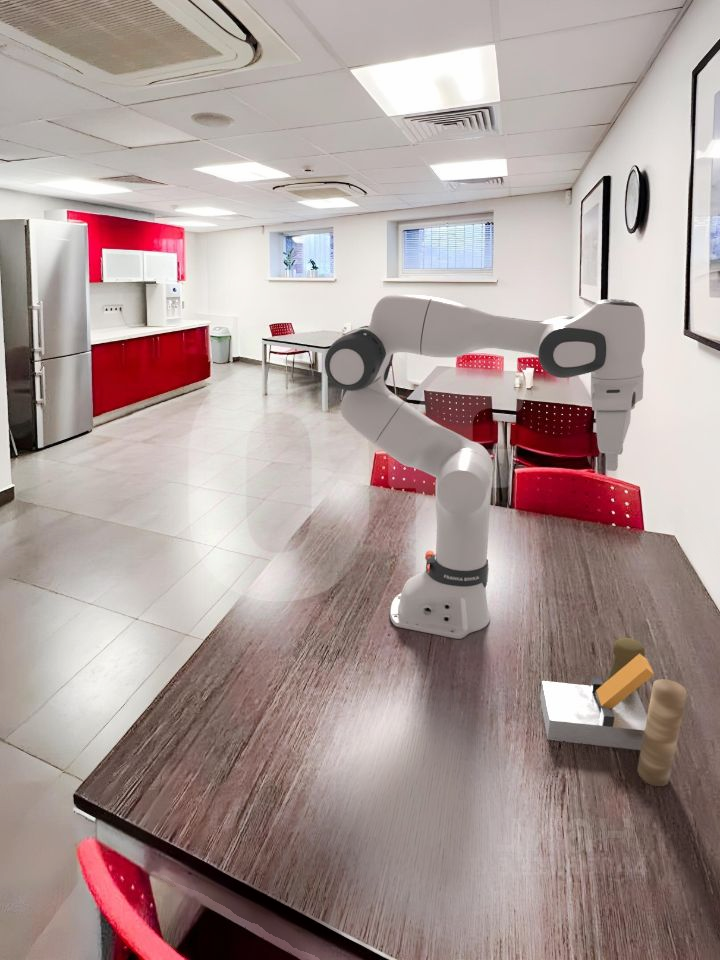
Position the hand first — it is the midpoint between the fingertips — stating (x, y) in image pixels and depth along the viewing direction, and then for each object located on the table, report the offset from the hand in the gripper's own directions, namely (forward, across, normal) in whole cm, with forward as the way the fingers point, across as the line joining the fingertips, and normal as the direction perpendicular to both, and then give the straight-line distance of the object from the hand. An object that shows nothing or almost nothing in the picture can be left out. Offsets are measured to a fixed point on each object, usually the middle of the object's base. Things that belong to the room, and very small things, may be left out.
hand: (614, 461), depth 112 cm
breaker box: (+38, +30, 0) cm, 48 cm away
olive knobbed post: (+39, +19, +4) cm, 43 cm away
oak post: (+38, +37, +10) cm, 54 cm away
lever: (+33, +29, +2) cm, 44 cm away
